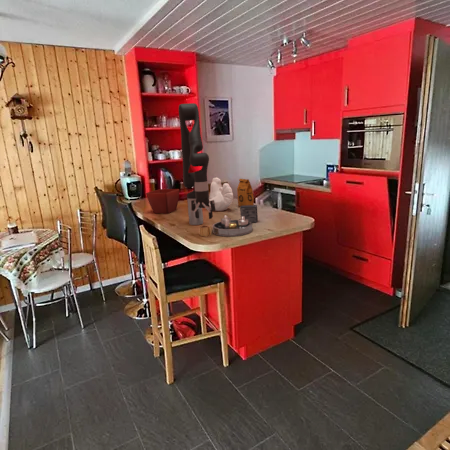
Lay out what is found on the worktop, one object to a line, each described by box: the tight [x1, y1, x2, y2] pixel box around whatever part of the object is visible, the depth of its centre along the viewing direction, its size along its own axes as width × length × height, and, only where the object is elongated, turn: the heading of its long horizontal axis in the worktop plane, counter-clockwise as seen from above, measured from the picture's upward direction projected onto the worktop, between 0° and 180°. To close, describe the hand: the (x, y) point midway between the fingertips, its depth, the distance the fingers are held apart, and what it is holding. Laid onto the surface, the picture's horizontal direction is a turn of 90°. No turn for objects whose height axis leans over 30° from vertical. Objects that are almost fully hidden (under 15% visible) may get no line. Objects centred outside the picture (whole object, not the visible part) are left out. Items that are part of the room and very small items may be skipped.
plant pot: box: [145, 188, 180, 214], centre depth 265 cm, size 19×19×17 cm
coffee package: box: [236, 178, 255, 208], centre depth 263 cm, size 10×12×22 cm
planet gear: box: [198, 224, 212, 237], centre depth 194 cm, size 6×6×5 cm
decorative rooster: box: [209, 177, 234, 212], centre depth 255 cm, size 25×16×25 cm, turn 26°
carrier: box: [212, 215, 253, 238], centre depth 198 cm, size 23×23×8 cm
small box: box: [239, 204, 259, 224], centre depth 217 cm, size 11×6×10 cm, turn 81°
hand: (204, 218), depth 192 cm, fingers open, 8 cm apart
